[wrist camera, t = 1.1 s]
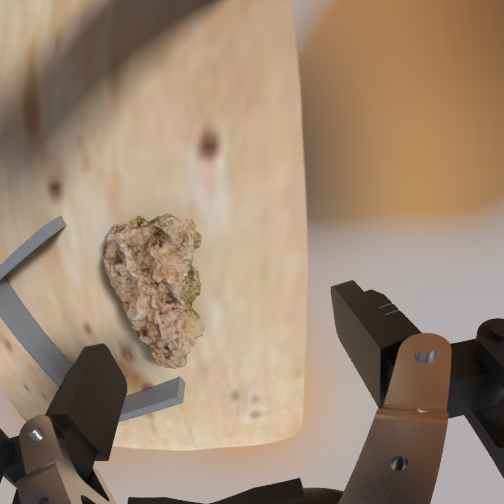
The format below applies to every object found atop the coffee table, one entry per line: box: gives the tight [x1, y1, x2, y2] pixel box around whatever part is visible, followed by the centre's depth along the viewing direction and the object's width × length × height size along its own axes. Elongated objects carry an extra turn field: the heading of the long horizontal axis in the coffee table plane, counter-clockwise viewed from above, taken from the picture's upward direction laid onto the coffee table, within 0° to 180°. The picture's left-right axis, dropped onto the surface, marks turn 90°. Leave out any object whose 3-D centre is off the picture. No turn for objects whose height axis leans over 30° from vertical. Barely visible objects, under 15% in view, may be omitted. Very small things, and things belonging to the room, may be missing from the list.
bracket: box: [0, 216, 185, 422], centre depth 31 cm, size 14×25×4 cm, turn 27°
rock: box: [103, 214, 204, 369], centre depth 30 cm, size 17×5×10 cm
